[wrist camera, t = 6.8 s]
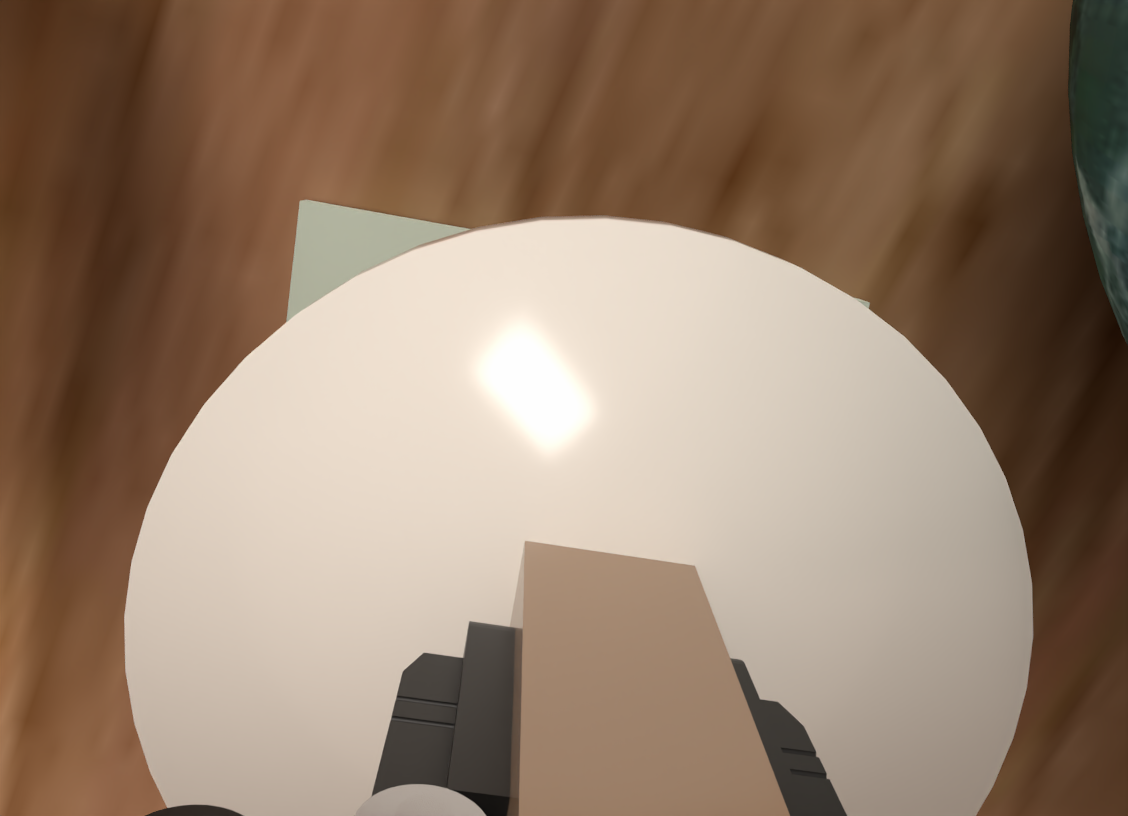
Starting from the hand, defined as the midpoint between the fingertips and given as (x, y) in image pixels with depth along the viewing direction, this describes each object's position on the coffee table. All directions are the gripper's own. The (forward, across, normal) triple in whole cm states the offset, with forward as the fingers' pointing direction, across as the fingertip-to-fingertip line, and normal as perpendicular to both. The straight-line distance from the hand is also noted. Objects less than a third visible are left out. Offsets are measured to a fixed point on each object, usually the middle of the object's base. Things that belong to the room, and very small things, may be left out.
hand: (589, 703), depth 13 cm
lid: (+2, 0, 0) cm, 2 cm away
